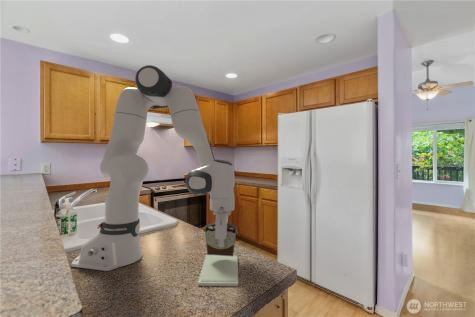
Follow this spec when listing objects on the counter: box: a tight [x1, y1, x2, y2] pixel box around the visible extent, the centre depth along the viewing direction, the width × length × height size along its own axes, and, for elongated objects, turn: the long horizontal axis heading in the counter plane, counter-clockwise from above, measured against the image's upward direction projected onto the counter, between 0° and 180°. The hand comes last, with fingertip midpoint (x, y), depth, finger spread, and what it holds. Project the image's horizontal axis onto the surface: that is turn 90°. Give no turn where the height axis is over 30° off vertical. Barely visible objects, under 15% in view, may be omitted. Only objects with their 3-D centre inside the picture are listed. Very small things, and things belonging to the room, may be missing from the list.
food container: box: [202, 222, 239, 256], centre depth 82 cm, size 12×6×10 cm, turn 83°
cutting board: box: [197, 254, 239, 287], centre depth 76 cm, size 12×19×1 cm, turn 1°
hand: (221, 242), depth 81 cm, fingers closed on food container, 5 cm apart
